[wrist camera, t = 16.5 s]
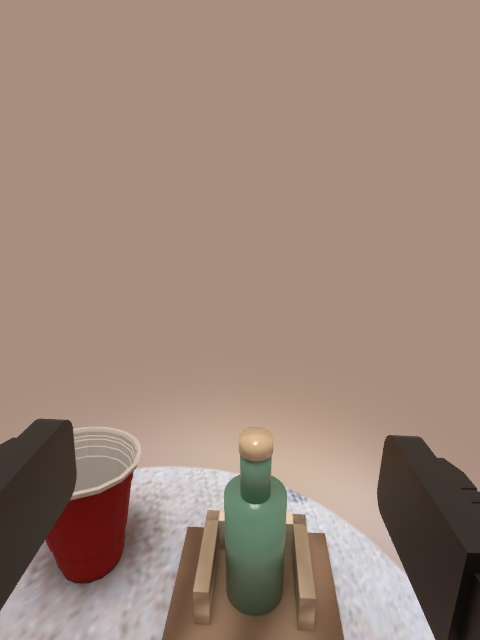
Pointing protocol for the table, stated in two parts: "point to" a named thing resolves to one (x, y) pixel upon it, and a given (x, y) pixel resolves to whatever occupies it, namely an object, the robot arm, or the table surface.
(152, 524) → the table surface
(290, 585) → the bottle cradle
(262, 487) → the green bottle
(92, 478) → the plastic cup
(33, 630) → the table surface
